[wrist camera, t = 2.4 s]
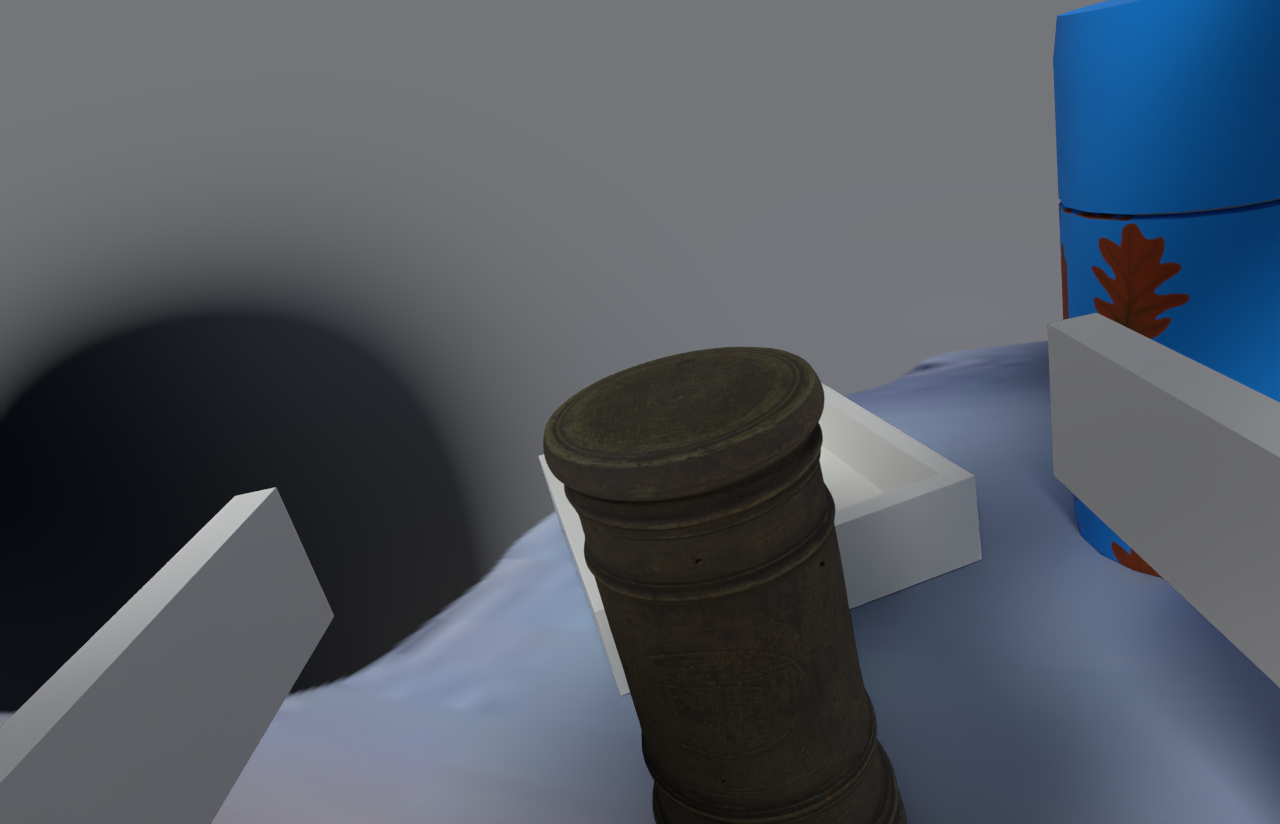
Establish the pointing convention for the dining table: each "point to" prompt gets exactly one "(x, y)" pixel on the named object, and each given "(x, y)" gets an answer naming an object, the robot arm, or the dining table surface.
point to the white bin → (853, 512)
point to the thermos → (1172, 185)
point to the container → (726, 587)
